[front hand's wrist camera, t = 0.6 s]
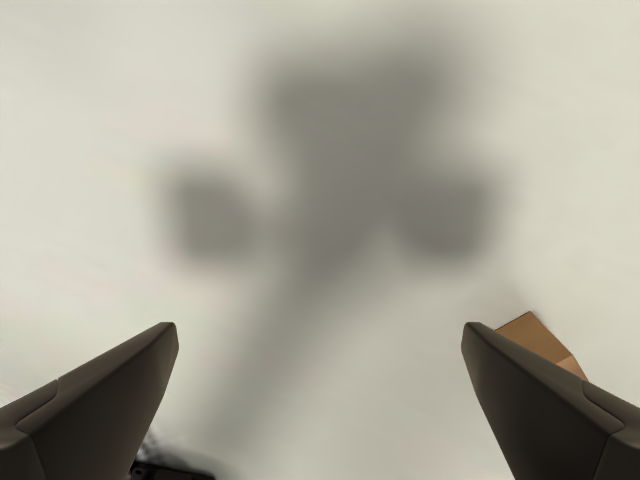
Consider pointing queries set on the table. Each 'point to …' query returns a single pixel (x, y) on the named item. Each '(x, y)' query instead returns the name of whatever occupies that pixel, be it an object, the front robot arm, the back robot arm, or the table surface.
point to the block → (541, 342)
